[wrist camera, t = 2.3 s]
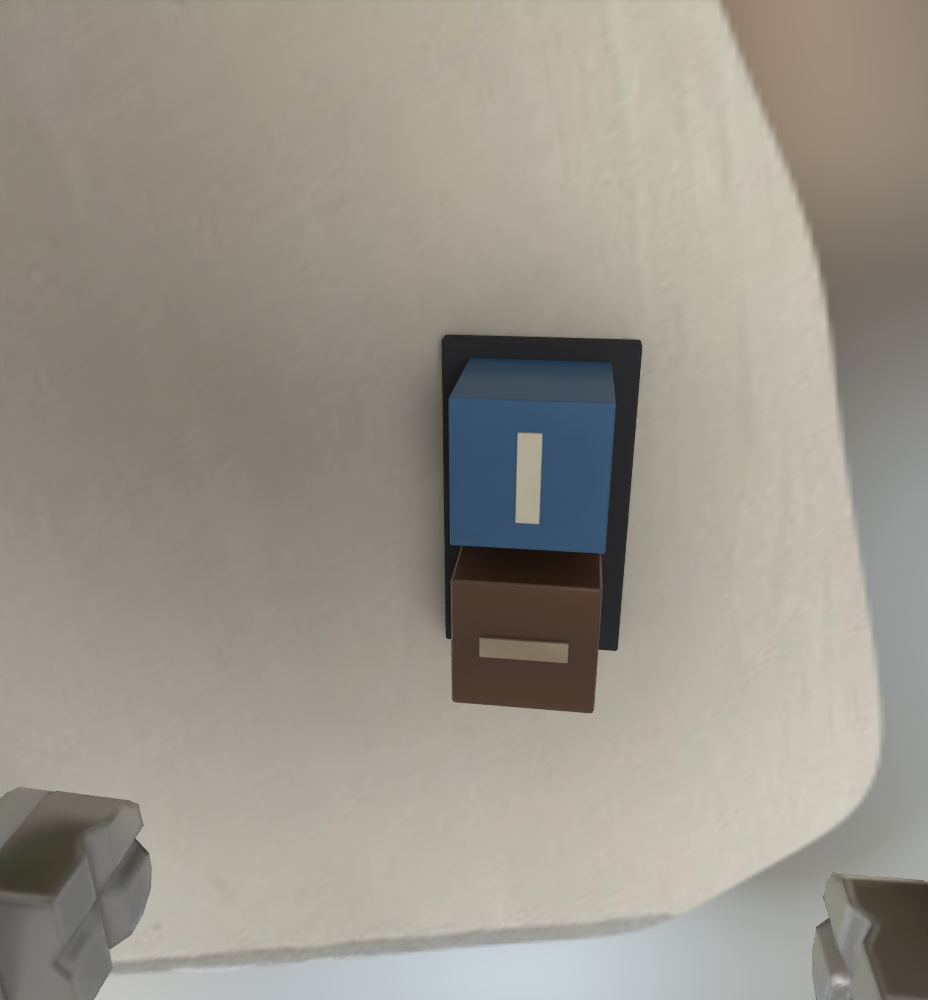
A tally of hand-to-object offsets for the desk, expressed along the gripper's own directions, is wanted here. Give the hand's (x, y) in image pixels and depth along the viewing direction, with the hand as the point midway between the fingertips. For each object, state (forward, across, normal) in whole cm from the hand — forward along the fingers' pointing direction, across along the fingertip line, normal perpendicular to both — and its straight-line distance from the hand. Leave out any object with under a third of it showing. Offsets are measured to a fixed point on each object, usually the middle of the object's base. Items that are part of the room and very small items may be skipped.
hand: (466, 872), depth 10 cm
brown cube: (+16, 0, +5) cm, 17 cm away
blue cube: (+16, 0, 0) cm, 16 cm away
